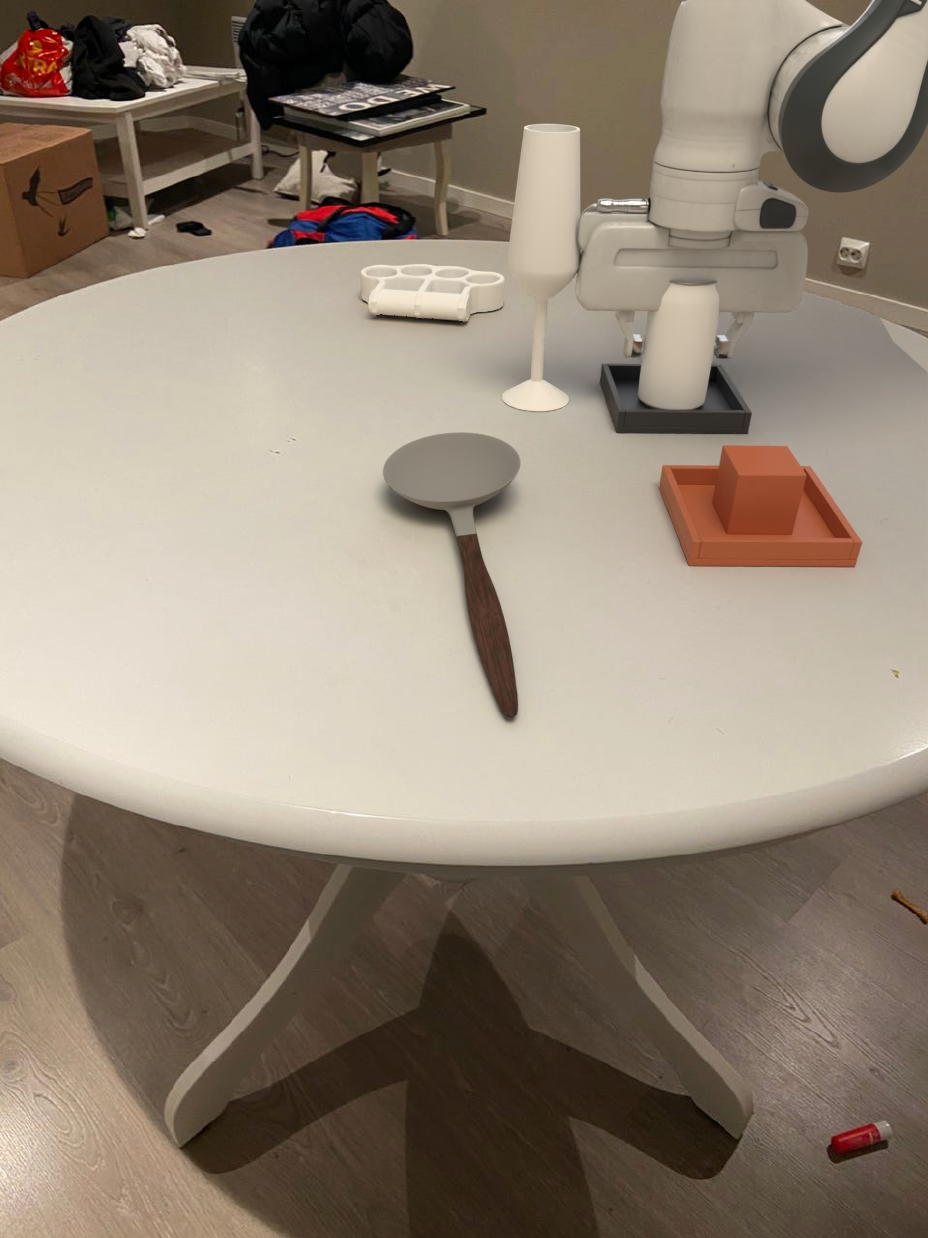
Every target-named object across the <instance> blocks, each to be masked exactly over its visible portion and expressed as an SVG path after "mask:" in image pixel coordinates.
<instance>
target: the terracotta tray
mask: <svg viewBox="0 0 928 1238" xmlns="http://www.w3.org/2000/svg"><path fill="white" fill-rule="evenodd" d="M800 466H801V467H802V469H803V470H804V472H805V473H806V475H807V476H806V480H805V484H804V488H803V492H802V496H801V500H800V504H799V509H798V513H797V517H796V521H795V525H794V529H793V533H792V534H727V533H726V531H725V529H724V527H723V524H722V522H721V520H720V518H719V516H718V514H717V512H716V509H715V507H714V505H713V503H712V501H713V496H714V490H715V485H716V480H717V474H718V469H719V464H718V465H717V464H716V465H715V464H714V465H709V464H707V465H705V464H704V465H703V464H701V465H699V464H681V465H680V464H670V465H669V464H662V465H661V472H660V478H659V481H660V482H659V486H658V488H659V491H660V493H661V496H662V500H663V501H664V504H665V506H666V509H667V511H668V515H669V517H670V520H671V523H672V525H673V528H674V531H675V533H676V536H677V538H678V540H679V543H680V546H681V548H682V549H681V550H682V551H683V554H684V556H685V560H686V561H687V565H688V566H689V567H690V566H691V567H692V566H693V567H698V566H699V567H833V568H835V567H839V568H840V567H841V568H842V567H843V568H845V567H846V568H850V567H852V568H853V567H856V565H857V561H858V558H859V555H860V552H861V548H862V545H863V541H862V539H861V538H860V536H859V535H858V534H857V532H856V531H855V529H854V528H853V526H852V525H851V523H850V522H849V520H848V519H847V518H846V516H845V515H844V513H843V512H842V511H841V509H840V508H839V506H838V505H837V503H836V501H835V500H834V499H833V497H832V495H831V494H830V492H828V490H827V488H826V487H825V485H824V484H823V483H822V481H821V480H820V478H819V477H818V475H817V474H816V472H815V471H814V469H813V468H812V467H811V466H810V465H800Z"/></svg>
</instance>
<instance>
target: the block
mask: <svg viewBox="0 0 928 1238" xmlns="http://www.w3.org/2000/svg"><path fill="white" fill-rule="evenodd" d="M718 465H719V469H718V474H717V480H716V485H715V490H714V496H713V501H712V503H713V505H714V507H715V509H716V512H717V514H718V516H719V518H720V520H721V522H722V524H723V527H724V529H725V531H726V533H727V534H792V533H793V529H794V525H795V521H796V517H797V513H798V509H799V504H800V500H801V496H802V492H803V488H804V484H805V480H806V476H807V475H806V473H805V472H804V470H803V469H802V467H801V466H802V465H800V462H799V461H798V460H797V458H796V456H795V455H794V454H793V452H792V451H791V449H790V448H789V446H788V445H735V444H734V445H731V444H730V445H729V444H728V445H726V444H725V445H724V444H723V445H722V448H721V453H720V458H719V464H718Z"/></svg>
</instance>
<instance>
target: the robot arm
mask: <svg viewBox="0 0 928 1238" xmlns="http://www.w3.org/2000/svg"><path fill="white" fill-rule="evenodd" d="M663 70H664V71H663V76H662V83H661V90H660V101H659V106H660V113H661V133H660V137H659V141H658V143H657V146H656V148H655V151H654V154H653V160H652V166H651V167H652V168H651V177H650V185H649V193H648V198H626V199H613V198H608V197H606V198H600V199H597V201H596V202H595V203H592V204H590V205H588V206H586V208H584V209H583V211H582V212H580V213H581V215H580V217H579V221H578V231H577V242H578V245H579V247H580V249H581V255H580V264H579V269H578V272H577V273H576V275H575V285H574V294H575V298H576V300H577V302H578V303H579V304H580V306H581V307H582V308H583V310H585V311H594V312H595V311H596V312H597V311H598V312H600V311H601V312H615V315H614V316H615V318H616V321H617V323H618V325H619V327H620V329H621V332H622V334H623V335H624V340H623V355H624V358H626V359H632V358H642V355H643V347H644V339H643V337H642V335H641V334H640V333H632V330H631V329H630V326H629V324H628V323H634V320H635V313H636V312H648V311H658V310H659V308H660V305H661V300H662V297H663V295H664V294H665V293H666V291H667V290H668V288H669V287H670V284H671V282H669V281H670V280H671V281H676V282H682V283H710V282H714V281H717V283H715V287H716V290H717V293H718V295H719V298H720V299H719V312H720V313H731V316H732V318H733V319H734V321H733V322H732V324H731V325H730V327H728V329H727V331H726V332H725V334H716V340H715V346H714V352H713V356H715V358H716V359H722V360H723V359H724V360H725V359H726V360H727V359H729V360H732V359H733V358H734V355H735V351H736V343H737V342H738V341H739V340H740V339H741V338H742V337H743V335H744V334H745V333H746V332H747V331H748V330H749V328H750V327H751V326H752V324H753V319H754V314H755V313H770V314H771V313H773V314H774V313H777V314H778V313H783V314H787V313H791V312H793V310H795V308H796V307H797V306H798V305H799V304H800V303H801V301H802V299H803V294H804V290H805V286H806V285H805V284H806V279H807V278H806V277H807V269H808V257H809V248H808V242H807V240H806V237H805V236H804V235H803V233H802V232H800V231H801V230H803V229H804V228H805V226H806V224H807V222H808V218H809V207H808V206H807V205H806V203H805V202H804V201H803V200H802V199H801V198H799V197H798V196H797V195H795V194H794V193H792V192H790V191H788V190H786V189H784V188H782V187H779V186H776V185H774V184H772V183H770V182H768V181H765V180H764V181H763V180H760V179H758V177H759V171H760V166H761V162H762V157H764V155H765V154H768V153H772V152H773V153H784V156H785V159H786V161H787V163H788V165H789V166H790V168H791V170H792V171H793V172H794V173H795V175H796V176H797V177H798V178H799V179H801V180H802V181H803V182H804V183H805V184H807V185H809V186H811V187H813V188H815V189H817V190H819V191H820V190H821V191H823V192H828V193H836V194H837V193H838V194H840V193H851V192H852V193H853V192H857V191H860V190H863V189H867V188H870V187H871V186H874V185H876V184H878V183H880V182H881V181H883V180H885V179H887V178H888V177H889V176H891V175H892V174H894V172H896V171H897V170H898V169H899V168H901V166H902V165H903V164H904V163H905V162H906V161H907V160H908V159H909V157H910V156H911V155H912V154H913V153H914V151H915V149H916V148H917V147H918V145H919V143H920V141H921V139H922V138H923V135H924V133H925V131H926V129H927V126H928V0H871V1H870V3H869V4H868V6H867V8H866V9H865V10H864V12H863V13H862V14H861V15H860V16H859V17H858V18H857V20H855V22H853V23H852V24H851V25H849V24H847V23H845V22H843V21H841V20H839V19H836V18H835V17H834V16H830V15H829V14H827V13H826V12H824V11H822V10H821V9H819V8H817V7H816V6H815V5H812V4H811V3H810V2H808V1H807V0H681V3H680V5H679V6H678V8H677V11H676V14H675V17H674V20H673V24H672V28H671V32H670V36H669V40H668V45H667V51H666V58H665V64H664V68H663ZM592 210H596V211H592Z"/></svg>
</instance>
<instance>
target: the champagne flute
mask: <svg viewBox="0 0 928 1238" xmlns="http://www.w3.org/2000/svg"><path fill="white" fill-rule="evenodd" d="M519 156H520V157H519V163H518V172H517V179H516V188H515V194H514V203H513V210H512V211H513V212H512V219H511V227H510V232H509V233H510V234H509V242H508V249H507V250H508V251H507V257H506V264H507V267H508V270H509V272H510V274H511V276H512V277H513V279H514V280H515V282H516V283H517V285H518V286H519V287H521V289H522V290H523V291H524V292H525V293H526V294H528V296H530V297H531V298H533V299H534V313H533V314H534V315H533V318H534V319H533V331H532V333H533V334H532V347H531V348H532V349H531V351H532V352H531V365H530V366H531V367H530V378H529V379H527V380H525V381H523V382H521V383H519V384H517V385H515V386H513V387H511V388H509V389H507V390H505V391H504V392H503V393H502V395H501V399H502V401H503V402H504V403H505V404H506V405H508V406H510V407H512V408H514V409H517V410H520V411H521V410H522V411H526V412H527V411H528V412H548V411H549V412H550V411H555V410H559V409H562V408H563V407H565V406H567V405H568V404H569V401H570V397H569V395H568V394H567V393H565V392H564V391H563V390H561V389H559V388H557V386H555V385H553V384H551V383H549V382H548V381H547V380H545V379H544V364H545V347H546V336H547V335H546V334H547V332H546V331H547V317H548V303H549V302H548V301H549V300H550V299H552V298H553V297H555V296H557V295H558V294H559V293H560V292H561V291H562V290H563V289H565V288H566V287H567V286H568V285H569V284H571V282H572V281H573V279H574V278H576V276H577V272H578V269H579V264H580V255H581V251H582V250H581V249H580V247H579V245H578V242H577V231H578V221H579V217H580V215H581V213H582V212H581V128H580V127H578V126H575V125H570V124H562V123H561V124H560V123H536V124H534V123H533V124H528V125H525V126H524V127H523V133H522V141H521V148H520V155H519Z"/></svg>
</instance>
